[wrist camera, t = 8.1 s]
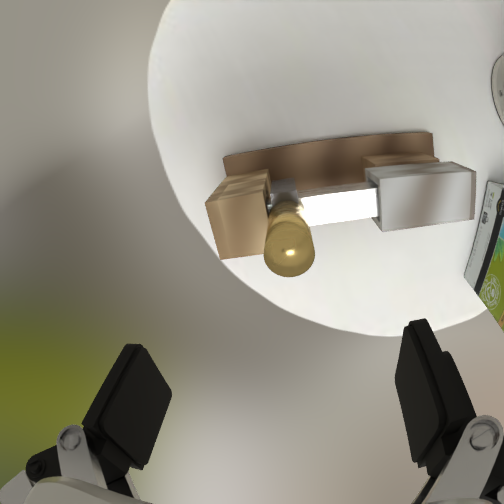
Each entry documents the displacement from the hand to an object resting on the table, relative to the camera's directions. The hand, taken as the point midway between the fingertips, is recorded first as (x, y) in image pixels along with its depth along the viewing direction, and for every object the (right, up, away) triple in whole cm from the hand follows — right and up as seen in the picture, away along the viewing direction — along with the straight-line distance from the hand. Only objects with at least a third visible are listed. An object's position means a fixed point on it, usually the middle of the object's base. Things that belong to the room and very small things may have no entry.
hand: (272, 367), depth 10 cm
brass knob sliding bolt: (+6, +9, +16) cm, 19 cm away
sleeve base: (+9, +12, +21) cm, 26 cm away
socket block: (-1, +10, +22) cm, 24 cm away
